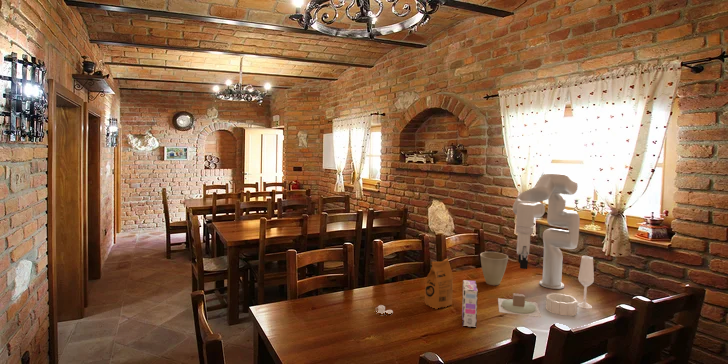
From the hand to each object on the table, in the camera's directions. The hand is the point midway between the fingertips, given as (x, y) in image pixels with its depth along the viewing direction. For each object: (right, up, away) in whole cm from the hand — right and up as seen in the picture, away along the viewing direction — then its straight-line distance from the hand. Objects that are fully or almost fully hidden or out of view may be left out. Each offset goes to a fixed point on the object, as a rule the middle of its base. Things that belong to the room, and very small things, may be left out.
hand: (522, 265), depth 198 cm
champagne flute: (+32, -21, +7) cm, 39 cm away
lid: (-1, -20, +3) cm, 20 cm away
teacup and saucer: (-64, -22, -8) cm, 69 cm away
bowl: (+18, -21, 0) cm, 28 cm away
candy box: (-28, -22, -12) cm, 38 cm away
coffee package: (-39, -20, +6) cm, 44 cm away
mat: (-1, -21, +3) cm, 21 cm away
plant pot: (-2, -18, +38) cm, 42 cm away
